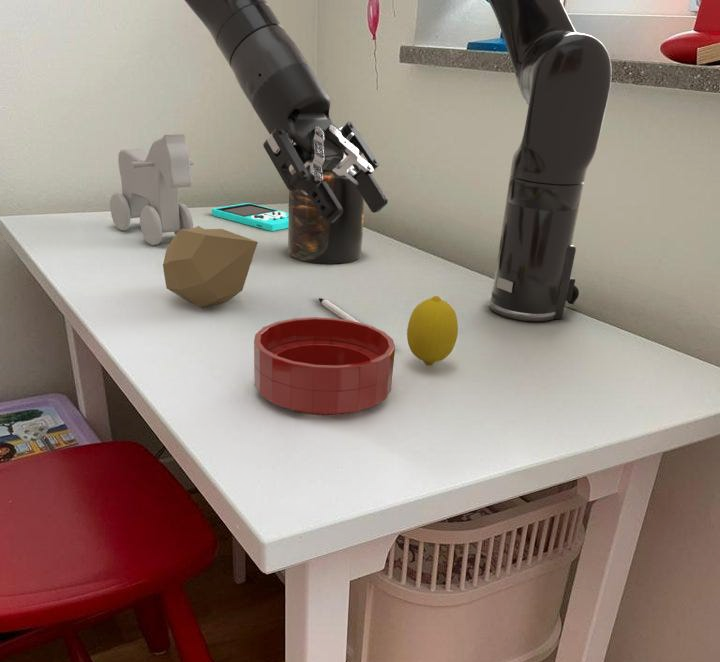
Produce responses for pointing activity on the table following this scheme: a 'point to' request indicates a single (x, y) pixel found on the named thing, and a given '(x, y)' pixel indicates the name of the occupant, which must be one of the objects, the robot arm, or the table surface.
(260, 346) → the bowl
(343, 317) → the pen
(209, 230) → the low-poly potato
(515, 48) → the robot arm
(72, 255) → the table surface
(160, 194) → the pony
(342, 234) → the jar
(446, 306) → the lemon
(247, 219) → the handheld game console
